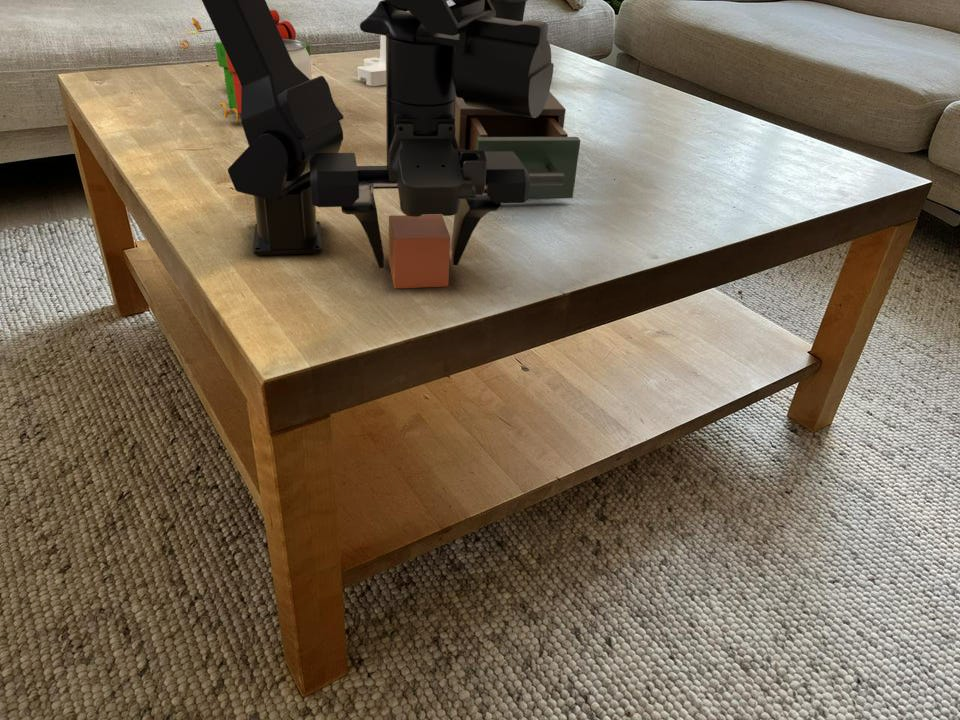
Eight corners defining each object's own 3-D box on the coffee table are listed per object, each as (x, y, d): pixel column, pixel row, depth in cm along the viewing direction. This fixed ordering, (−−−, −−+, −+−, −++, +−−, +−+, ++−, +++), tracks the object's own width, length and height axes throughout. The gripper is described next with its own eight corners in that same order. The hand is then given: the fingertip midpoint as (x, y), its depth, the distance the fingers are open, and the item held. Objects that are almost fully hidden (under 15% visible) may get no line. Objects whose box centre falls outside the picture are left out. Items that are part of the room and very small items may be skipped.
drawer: (583, 213, 84) (592, 153, 80) (482, 216, 82) (486, 154, 78) (544, 159, 97) (550, 105, 94) (456, 160, 95) (458, 105, 91)
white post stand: (376, 87, 122) (374, -53, 111) (343, 77, 126) (338, -60, 115) (422, 75, 130) (425, -58, 118) (390, 66, 133) (389, -64, 122)
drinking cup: (469, 85, 127) (476, -51, 116) (482, 74, 133) (490, -56, 122) (514, 91, 125) (525, -45, 114) (525, 80, 131) (537, -51, 120)
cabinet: (557, 178, 95) (565, 109, 90) (457, 180, 92) (460, 108, 87) (530, 141, 105) (536, 77, 101) (440, 142, 103) (442, 76, 98)
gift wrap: (280, 103, 119) (271, 1, 112) (355, 121, 107) (349, 8, 101) (156, 118, 106) (137, 4, 99) (225, 140, 94) (209, 13, 88)
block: (448, 286, 71) (450, 237, 68) (394, 288, 70) (394, 239, 67) (440, 261, 75) (441, 214, 72) (389, 263, 74) (388, 215, 71)
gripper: (305, 127, 54) (318, 314, 63) (556, 127, 58) (535, 304, 67) (304, 84, 63) (315, 253, 72) (522, 86, 67) (507, 247, 76)
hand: (418, 265), depth 72 cm, fingers open, 7 cm apart
